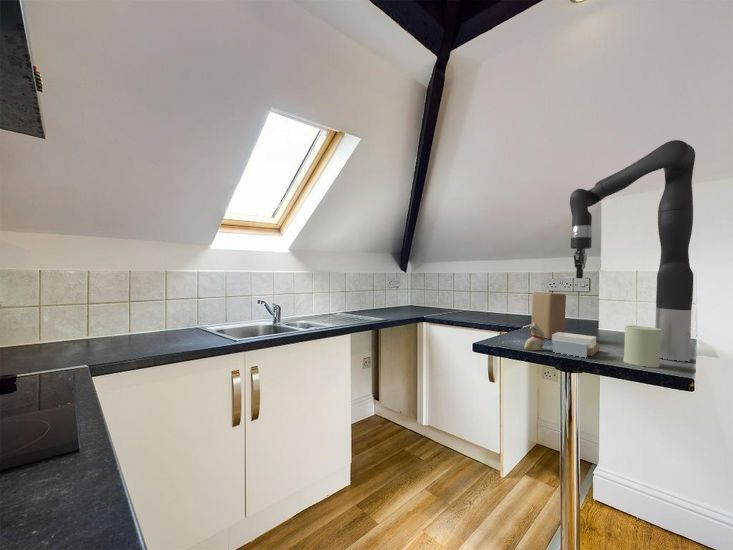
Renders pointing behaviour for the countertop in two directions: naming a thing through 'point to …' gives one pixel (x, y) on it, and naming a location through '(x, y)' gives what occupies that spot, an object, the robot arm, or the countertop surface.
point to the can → (642, 346)
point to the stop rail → (570, 348)
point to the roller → (590, 351)
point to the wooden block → (549, 312)
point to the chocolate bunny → (535, 339)
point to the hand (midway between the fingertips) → (579, 278)
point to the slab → (575, 338)
